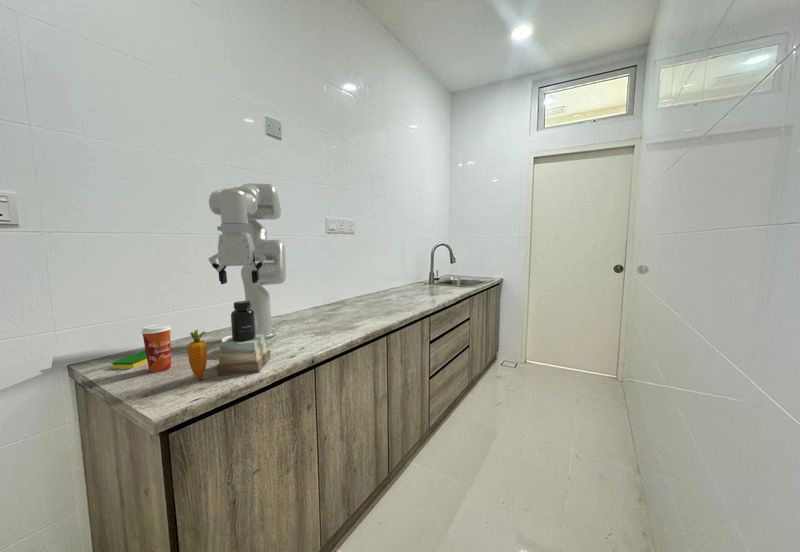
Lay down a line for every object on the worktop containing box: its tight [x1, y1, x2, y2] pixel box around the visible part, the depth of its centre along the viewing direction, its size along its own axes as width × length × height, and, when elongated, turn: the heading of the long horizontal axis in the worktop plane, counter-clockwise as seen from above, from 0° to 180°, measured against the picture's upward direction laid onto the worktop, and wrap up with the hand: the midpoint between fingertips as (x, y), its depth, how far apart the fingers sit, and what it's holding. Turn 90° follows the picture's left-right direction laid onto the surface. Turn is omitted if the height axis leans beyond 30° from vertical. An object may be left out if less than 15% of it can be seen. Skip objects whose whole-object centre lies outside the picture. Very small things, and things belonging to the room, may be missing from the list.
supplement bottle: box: [230, 300, 256, 341], centre depth 103 cm, size 7×7×12 cm
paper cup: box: [140, 323, 172, 373], centre depth 103 cm, size 8×8×14 cm
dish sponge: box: [111, 349, 148, 369], centre depth 112 cm, size 7×14×2 cm, turn 176°
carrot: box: [186, 329, 208, 381], centre depth 94 cm, size 5×5×15 cm
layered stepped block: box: [216, 334, 271, 376], centre depth 104 cm, size 12×12×9 cm
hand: (239, 283), depth 105 cm, fingers open, 9 cm apart
